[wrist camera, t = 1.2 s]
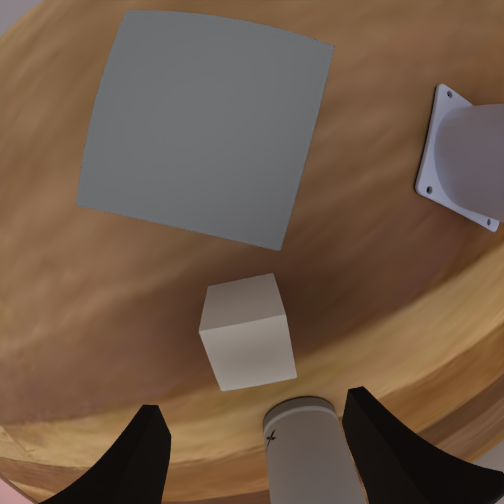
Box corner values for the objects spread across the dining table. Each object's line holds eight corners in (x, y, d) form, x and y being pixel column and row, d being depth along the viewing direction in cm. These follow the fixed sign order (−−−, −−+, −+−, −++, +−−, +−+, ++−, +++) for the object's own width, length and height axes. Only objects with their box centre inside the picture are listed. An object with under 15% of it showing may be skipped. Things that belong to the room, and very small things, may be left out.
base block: (313, 68, 14) (334, 46, 10) (270, 230, 17) (280, 251, 13) (148, 37, 13) (126, 10, 9) (108, 194, 16) (76, 205, 12)
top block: (283, 327, 19) (297, 377, 14) (224, 339, 19) (221, 391, 14) (273, 272, 18) (285, 313, 13) (207, 285, 18) (198, 331, 13)
